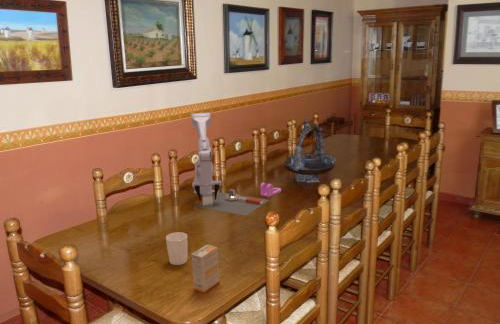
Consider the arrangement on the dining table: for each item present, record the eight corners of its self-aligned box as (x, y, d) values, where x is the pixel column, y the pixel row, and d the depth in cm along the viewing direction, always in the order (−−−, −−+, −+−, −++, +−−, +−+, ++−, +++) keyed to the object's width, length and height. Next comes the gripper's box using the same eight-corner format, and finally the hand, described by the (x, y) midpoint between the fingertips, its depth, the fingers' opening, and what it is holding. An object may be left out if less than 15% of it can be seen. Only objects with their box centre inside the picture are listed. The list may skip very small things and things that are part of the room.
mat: (194, 206, 225) (194, 206, 225) (220, 192, 245) (220, 192, 245) (245, 216, 211) (245, 215, 211) (269, 200, 231) (269, 199, 231)
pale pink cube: (203, 206, 224) (202, 197, 223) (203, 203, 229) (202, 193, 228) (213, 205, 225) (212, 196, 223) (213, 202, 230) (212, 193, 228)
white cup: (168, 257, 172) (166, 232, 170) (189, 255, 173) (187, 231, 170) (167, 266, 165) (164, 241, 162) (188, 265, 165) (186, 240, 163)
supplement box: (209, 278, 155) (206, 243, 152) (220, 282, 153) (218, 247, 149) (193, 289, 149) (190, 253, 146) (204, 293, 146) (201, 256, 143)
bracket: (269, 197, 235) (268, 185, 234) (260, 195, 239) (260, 183, 237) (283, 191, 245) (283, 179, 243) (274, 189, 248) (274, 177, 247)
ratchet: (223, 200, 232) (222, 191, 231) (230, 196, 238) (229, 187, 237) (258, 206, 222) (258, 196, 221) (265, 201, 228) (265, 192, 227)
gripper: (191, 176, 218) (193, 203, 222) (221, 175, 220) (222, 201, 223) (191, 172, 225) (193, 198, 229) (220, 171, 226) (222, 196, 230)
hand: (207, 199), depth 226 cm, fingers open, 7 cm apart
